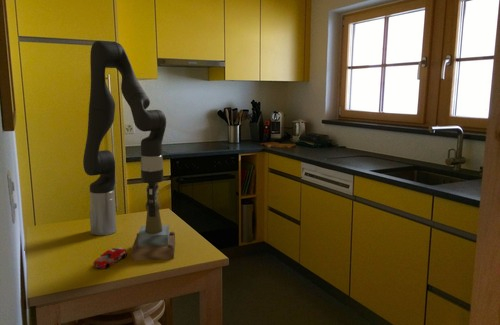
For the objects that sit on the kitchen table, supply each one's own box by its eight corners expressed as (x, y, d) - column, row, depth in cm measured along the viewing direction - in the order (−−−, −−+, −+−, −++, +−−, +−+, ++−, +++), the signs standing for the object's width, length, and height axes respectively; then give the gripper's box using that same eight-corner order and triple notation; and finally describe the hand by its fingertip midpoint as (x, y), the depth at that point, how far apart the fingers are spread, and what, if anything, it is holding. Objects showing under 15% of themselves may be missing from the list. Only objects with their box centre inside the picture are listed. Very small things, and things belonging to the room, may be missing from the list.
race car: (102, 272, 134) (102, 260, 133) (90, 268, 136) (89, 257, 135) (130, 256, 146) (129, 246, 145) (117, 254, 148) (117, 243, 147)
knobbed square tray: (132, 260, 142) (131, 238, 140) (137, 245, 156) (136, 224, 154) (173, 258, 144) (173, 236, 142) (175, 243, 157) (174, 223, 156)
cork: (165, 229, 150) (164, 199, 148) (156, 234, 144) (155, 204, 142) (151, 226, 152) (150, 197, 150) (141, 232, 146) (140, 202, 144)
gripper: (143, 164, 150) (144, 207, 153) (138, 172, 137) (140, 219, 140) (164, 163, 151) (165, 206, 154) (161, 172, 138) (162, 218, 141)
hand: (153, 212), depth 147 cm, fingers open, 8 cm apart
